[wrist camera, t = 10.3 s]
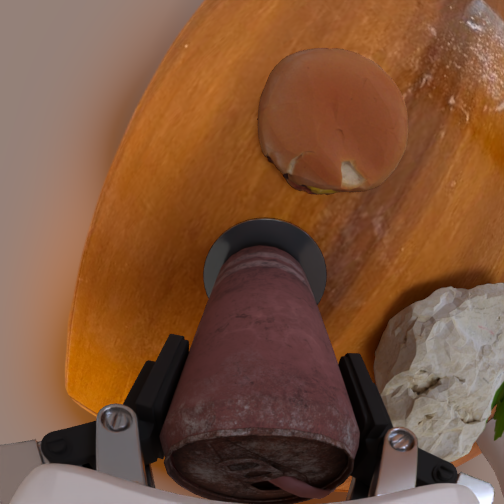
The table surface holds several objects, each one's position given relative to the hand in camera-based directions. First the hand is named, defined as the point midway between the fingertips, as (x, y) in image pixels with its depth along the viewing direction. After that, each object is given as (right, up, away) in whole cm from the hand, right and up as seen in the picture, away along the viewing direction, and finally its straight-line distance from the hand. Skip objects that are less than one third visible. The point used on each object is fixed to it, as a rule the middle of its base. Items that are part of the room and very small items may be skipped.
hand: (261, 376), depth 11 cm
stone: (+17, -2, +11) cm, 20 cm away
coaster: (+1, +3, +10) cm, 10 cm away
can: (0, +3, +9) cm, 9 cm away
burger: (+5, +14, +7) cm, 16 cm away
